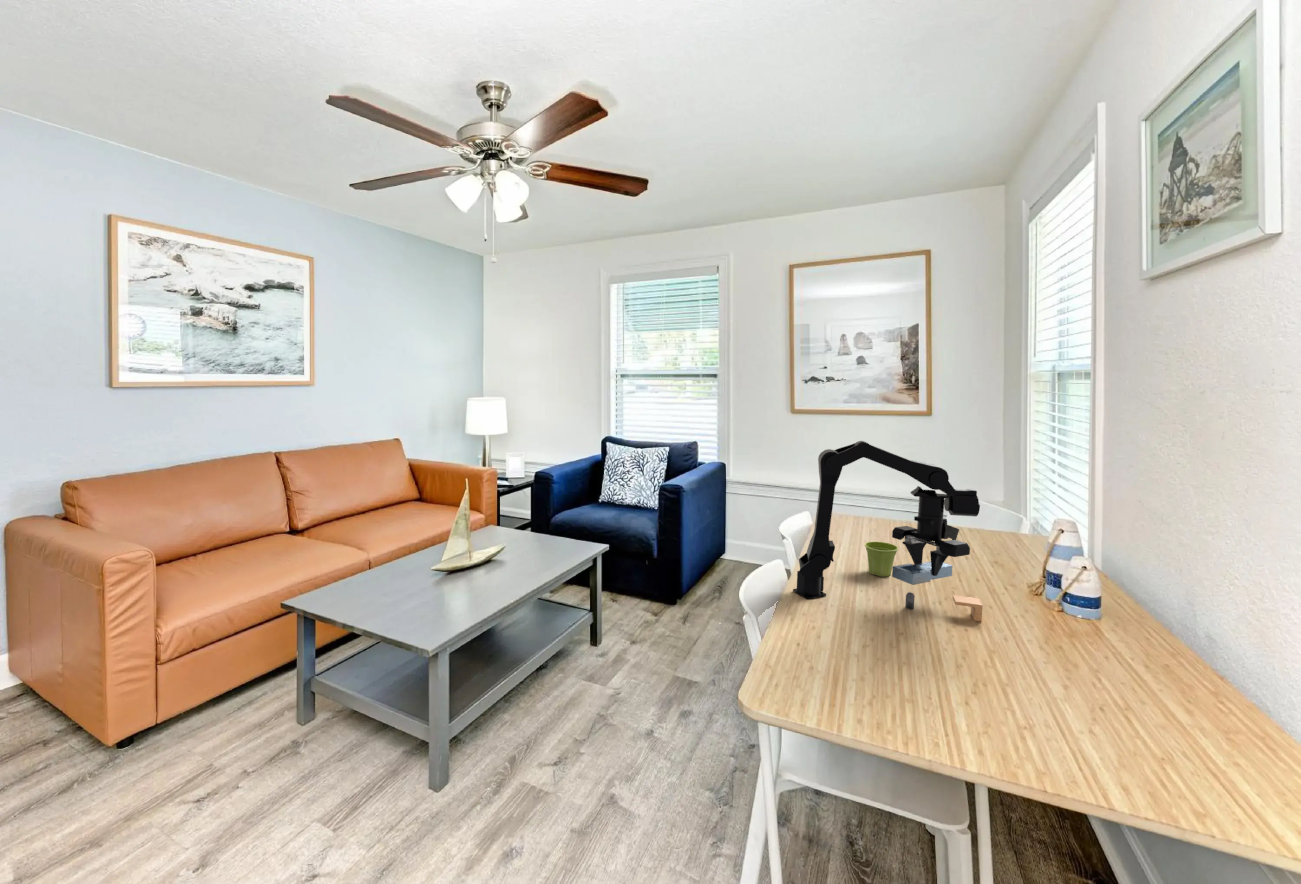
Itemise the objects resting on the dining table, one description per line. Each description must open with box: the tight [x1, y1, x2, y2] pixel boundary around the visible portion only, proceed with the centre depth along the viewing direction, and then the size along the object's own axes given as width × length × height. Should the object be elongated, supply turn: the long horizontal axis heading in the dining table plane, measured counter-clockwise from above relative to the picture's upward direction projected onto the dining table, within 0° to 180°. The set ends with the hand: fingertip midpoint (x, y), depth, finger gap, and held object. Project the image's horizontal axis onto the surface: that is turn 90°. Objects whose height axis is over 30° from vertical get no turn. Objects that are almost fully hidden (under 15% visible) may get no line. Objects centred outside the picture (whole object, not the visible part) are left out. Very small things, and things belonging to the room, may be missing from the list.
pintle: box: [905, 591, 916, 610], centre depth 134 cm, size 2×2×4 cm
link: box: [891, 561, 954, 586], centre depth 135 cm, size 15×6×3 cm, turn 113°
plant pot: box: [864, 541, 899, 578], centre depth 159 cm, size 9×9×9 cm
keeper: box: [952, 594, 984, 622], centre depth 129 cm, size 6×4×4 cm
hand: (926, 572), depth 135 cm, fingers closed on link, 4 cm apart
